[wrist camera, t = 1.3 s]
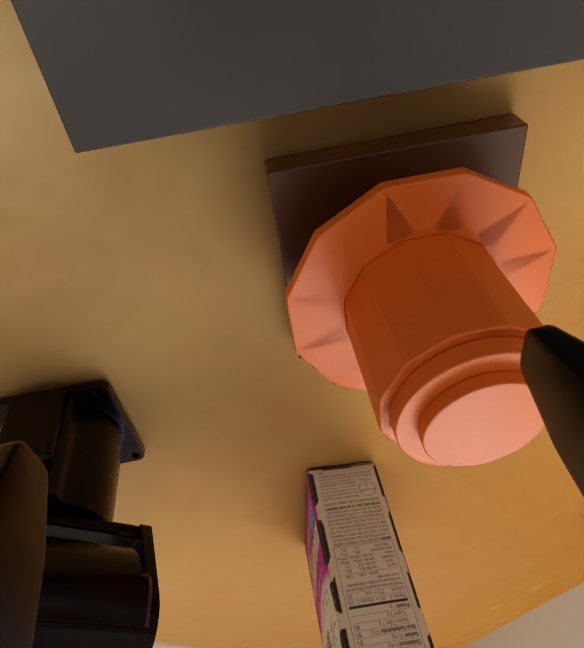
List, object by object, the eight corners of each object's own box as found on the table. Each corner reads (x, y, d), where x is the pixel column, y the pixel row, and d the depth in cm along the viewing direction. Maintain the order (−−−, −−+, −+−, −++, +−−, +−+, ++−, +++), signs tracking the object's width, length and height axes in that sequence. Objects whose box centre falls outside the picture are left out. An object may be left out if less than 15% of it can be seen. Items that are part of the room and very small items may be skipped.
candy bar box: (365, 538, 42) (435, 813, 30) (304, 547, 42) (350, 830, 29) (379, 457, 35) (480, 776, 23) (305, 466, 34) (366, 798, 22)
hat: (522, 359, 24) (607, 486, 19) (304, 402, 24) (332, 541, 19) (572, 145, 18) (723, 255, 13) (268, 202, 17) (297, 337, 12)
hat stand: (485, 306, 27) (578, 446, 21) (296, 343, 27) (328, 495, 20) (514, 113, 21) (665, 227, 14) (263, 159, 20) (296, 298, 14)
